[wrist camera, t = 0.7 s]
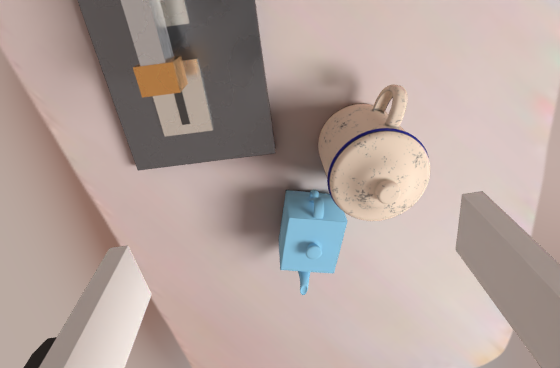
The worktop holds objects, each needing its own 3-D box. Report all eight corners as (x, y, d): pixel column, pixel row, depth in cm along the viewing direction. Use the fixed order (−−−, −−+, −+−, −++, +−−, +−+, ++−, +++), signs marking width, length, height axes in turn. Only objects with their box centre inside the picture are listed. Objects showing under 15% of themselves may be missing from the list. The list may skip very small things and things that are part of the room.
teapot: (320, 258, 47) (329, 302, 40) (275, 255, 46) (277, 299, 39) (338, 179, 41) (353, 215, 34) (287, 174, 40) (291, 210, 34)
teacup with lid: (379, 184, 41) (417, 247, 31) (305, 169, 40) (319, 230, 30) (423, 84, 36) (486, 121, 26) (339, 62, 34) (370, 92, 24)
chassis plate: (21, -180, 25) (7, -190, 24) (226, -211, 25) (223, -223, 24) (141, 165, 39) (136, 172, 37) (275, 148, 39) (275, 154, 37)
